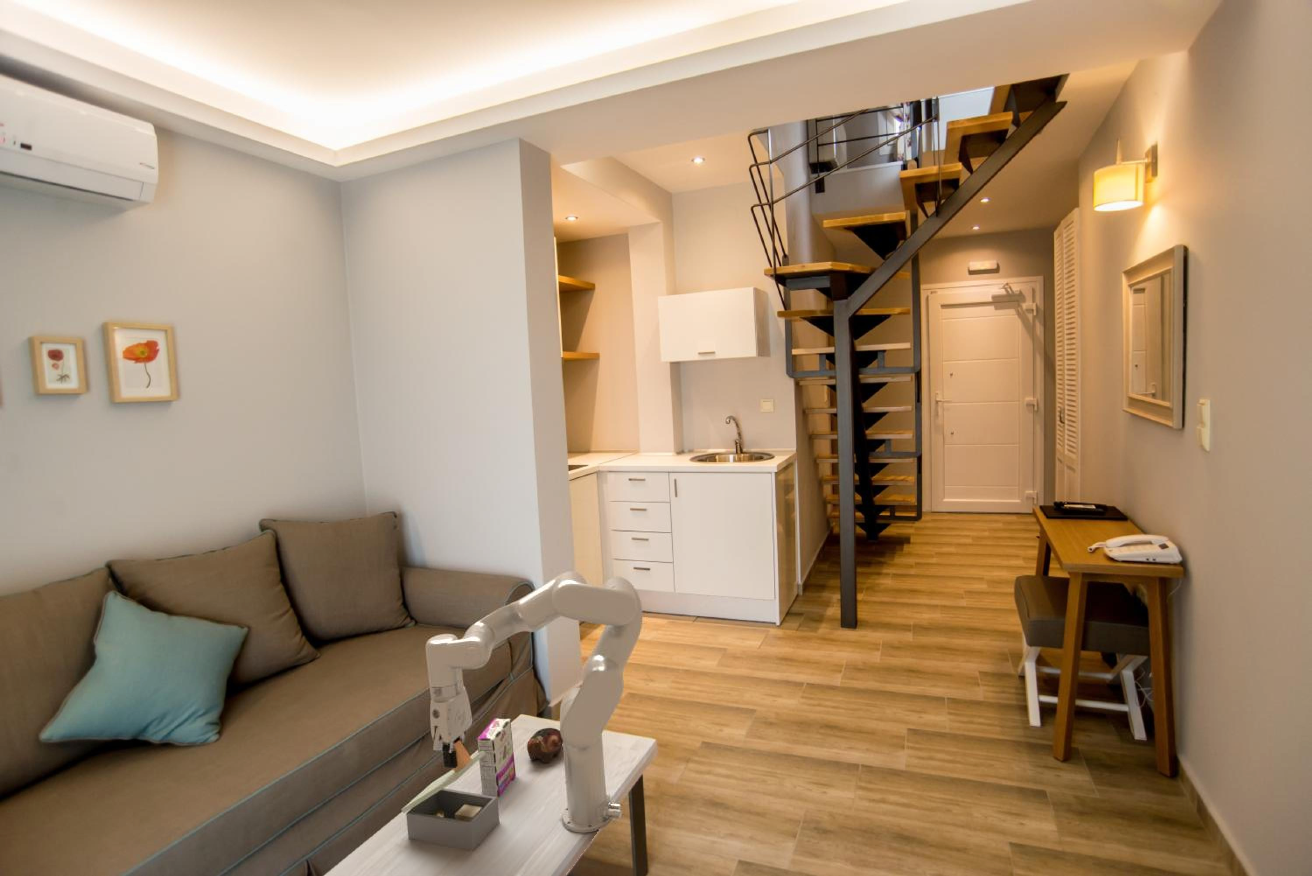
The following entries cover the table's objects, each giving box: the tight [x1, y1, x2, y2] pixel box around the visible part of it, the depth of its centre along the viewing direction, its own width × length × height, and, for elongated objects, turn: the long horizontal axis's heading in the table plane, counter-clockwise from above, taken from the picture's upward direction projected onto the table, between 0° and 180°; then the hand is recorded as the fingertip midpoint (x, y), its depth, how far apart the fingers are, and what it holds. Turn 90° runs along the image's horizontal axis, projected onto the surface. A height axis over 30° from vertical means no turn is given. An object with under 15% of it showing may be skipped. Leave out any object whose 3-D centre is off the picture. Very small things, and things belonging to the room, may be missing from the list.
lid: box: [400, 740, 485, 814], centre depth 166 cm, size 19×12×6 cm
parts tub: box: [405, 788, 500, 852], centre depth 165 cm, size 18×11×7 cm, turn 70°
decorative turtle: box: [526, 727, 563, 764], centre depth 198 cm, size 10×15×8 cm, turn 157°
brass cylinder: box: [428, 810, 444, 818], centre depth 165 cm, size 4×4×4 cm
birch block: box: [455, 804, 482, 822], centre depth 166 cm, size 5×4×4 cm
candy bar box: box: [476, 717, 517, 798], centre depth 183 cm, size 11×5×16 cm, turn 168°
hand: (455, 762), depth 164 cm, fingers closed on lid, 2 cm apart
